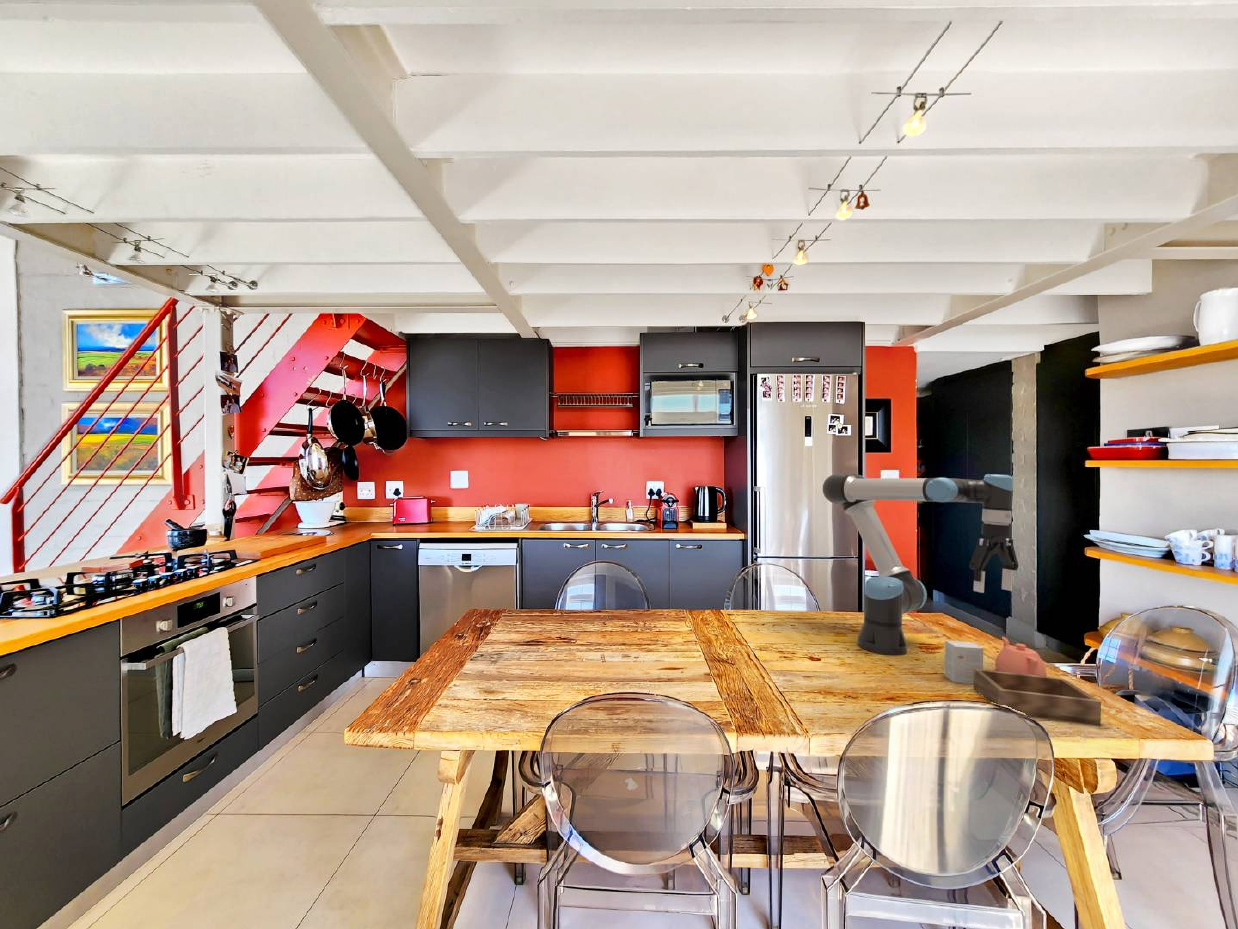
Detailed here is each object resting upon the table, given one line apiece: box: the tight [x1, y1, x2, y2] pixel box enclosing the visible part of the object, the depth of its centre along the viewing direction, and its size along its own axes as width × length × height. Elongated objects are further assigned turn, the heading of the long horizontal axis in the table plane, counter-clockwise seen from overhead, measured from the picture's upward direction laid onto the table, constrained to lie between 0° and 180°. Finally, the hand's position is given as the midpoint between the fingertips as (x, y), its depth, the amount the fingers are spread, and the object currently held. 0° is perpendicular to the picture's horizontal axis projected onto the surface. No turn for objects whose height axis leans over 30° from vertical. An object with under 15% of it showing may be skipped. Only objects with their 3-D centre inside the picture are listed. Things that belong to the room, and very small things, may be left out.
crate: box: [973, 669, 1102, 726], centre depth 138 cm, size 21×15×6 cm
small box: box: [943, 640, 985, 685], centre depth 154 cm, size 8×6×10 cm
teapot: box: [994, 636, 1048, 677], centre depth 160 cm, size 12×18×10 cm
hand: (992, 591), depth 167 cm, fingers open, 13 cm apart
